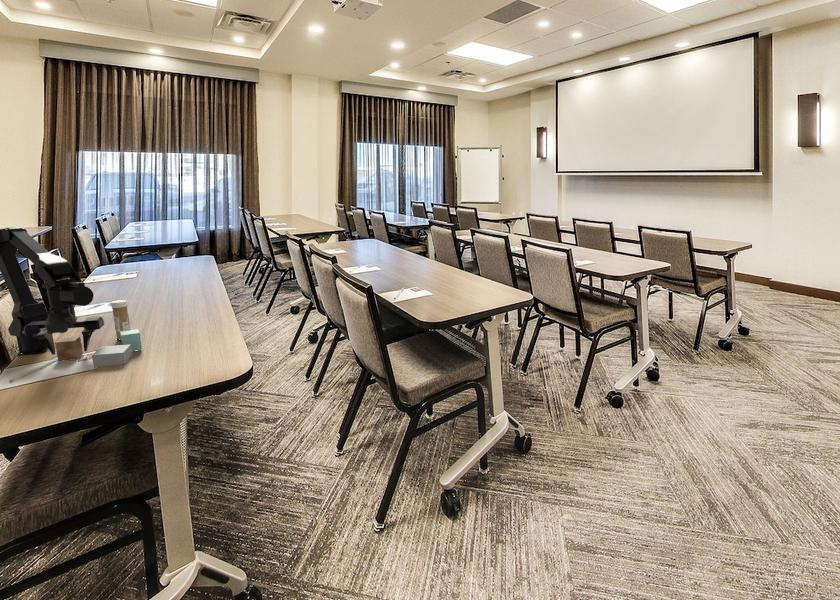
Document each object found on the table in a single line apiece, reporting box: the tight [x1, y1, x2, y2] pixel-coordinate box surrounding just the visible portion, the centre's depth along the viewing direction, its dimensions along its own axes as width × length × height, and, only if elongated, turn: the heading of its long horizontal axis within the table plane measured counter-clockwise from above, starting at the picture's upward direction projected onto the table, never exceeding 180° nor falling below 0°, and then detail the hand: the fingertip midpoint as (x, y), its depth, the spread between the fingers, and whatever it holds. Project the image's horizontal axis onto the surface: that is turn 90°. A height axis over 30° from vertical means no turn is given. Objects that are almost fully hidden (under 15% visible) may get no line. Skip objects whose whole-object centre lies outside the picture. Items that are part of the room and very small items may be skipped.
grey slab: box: [91, 344, 133, 368], centre depth 140 cm, size 8×8×4 cm
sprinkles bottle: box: [110, 299, 131, 340], centre depth 160 cm, size 5×5×13 cm
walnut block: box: [54, 335, 84, 362], centre depth 143 cm, size 5×5×6 cm
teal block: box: [120, 328, 143, 351], centre depth 150 cm, size 5×5×6 cm
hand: (70, 352), depth 143 cm, fingers open, 8 cm apart
